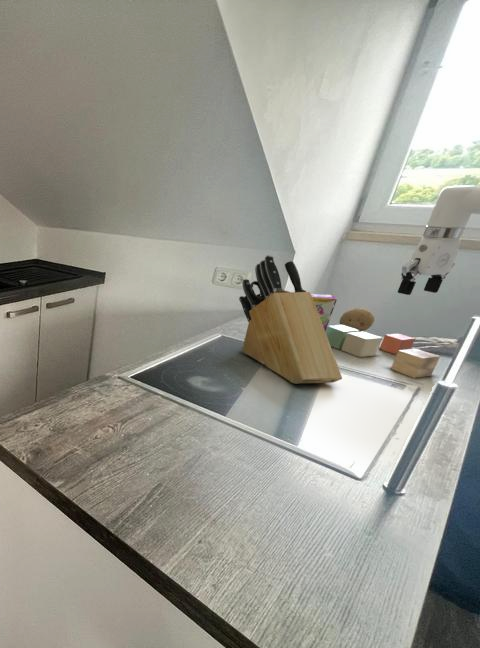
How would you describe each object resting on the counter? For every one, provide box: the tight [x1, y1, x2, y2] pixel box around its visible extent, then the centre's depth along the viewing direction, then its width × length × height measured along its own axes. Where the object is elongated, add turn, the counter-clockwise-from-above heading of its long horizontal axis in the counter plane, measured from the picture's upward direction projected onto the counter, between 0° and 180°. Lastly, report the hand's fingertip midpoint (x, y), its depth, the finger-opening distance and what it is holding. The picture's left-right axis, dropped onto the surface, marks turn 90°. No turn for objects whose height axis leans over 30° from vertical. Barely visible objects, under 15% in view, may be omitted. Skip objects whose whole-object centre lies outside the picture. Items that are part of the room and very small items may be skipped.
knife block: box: [238, 254, 343, 385], centre depth 114 cm, size 11×35×31 cm, turn 2°
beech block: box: [390, 347, 441, 379], centre depth 110 cm, size 6×6×6 cm
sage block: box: [325, 324, 360, 350], centre depth 130 cm, size 6×6×6 cm
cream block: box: [340, 331, 383, 358], centre depth 124 cm, size 6×6×6 cm
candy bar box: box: [311, 293, 338, 331], centre depth 131 cm, size 11×5×16 cm, turn 71°
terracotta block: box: [379, 332, 416, 356], centre depth 124 cm, size 5×5×5 cm
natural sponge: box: [339, 307, 375, 332], centre depth 137 cm, size 9×9×10 cm
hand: (417, 292), depth 117 cm, fingers open, 9 cm apart
